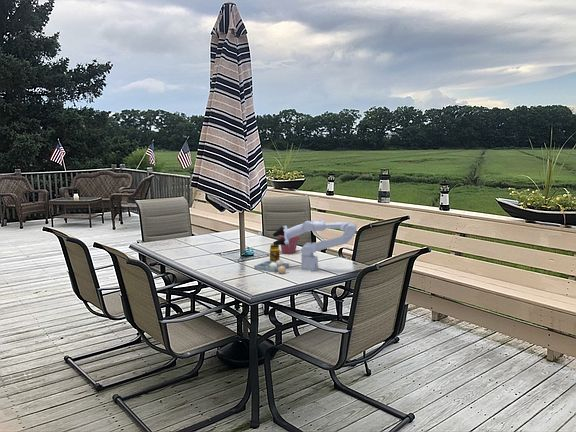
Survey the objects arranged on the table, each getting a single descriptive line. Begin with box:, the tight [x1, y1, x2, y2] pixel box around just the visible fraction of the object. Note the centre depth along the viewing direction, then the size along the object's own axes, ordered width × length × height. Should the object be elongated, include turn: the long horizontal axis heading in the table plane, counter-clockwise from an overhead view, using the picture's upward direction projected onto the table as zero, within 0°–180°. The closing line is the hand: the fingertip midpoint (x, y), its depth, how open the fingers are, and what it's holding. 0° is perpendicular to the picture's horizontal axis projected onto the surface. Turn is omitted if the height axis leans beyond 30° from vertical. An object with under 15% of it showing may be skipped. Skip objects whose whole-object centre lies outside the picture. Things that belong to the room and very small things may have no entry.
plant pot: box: [277, 235, 300, 255], centre depth 325 cm, size 14×14×13 cm
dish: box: [274, 271, 290, 276], centre depth 271 cm, size 6×6×1 cm
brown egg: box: [277, 266, 287, 275], centre depth 271 cm, size 5×5×5 cm
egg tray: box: [253, 260, 290, 273], centre depth 281 cm, size 15×15×3 cm
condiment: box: [269, 243, 281, 262], centre depth 296 cm, size 7×8×12 cm
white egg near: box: [276, 259, 284, 266], centre depth 282 cm, size 5×5×5 cm
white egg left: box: [269, 262, 277, 269], centre depth 276 cm, size 5×5×5 cm
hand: (273, 239), depth 283 cm, fingers open, 7 cm apart
